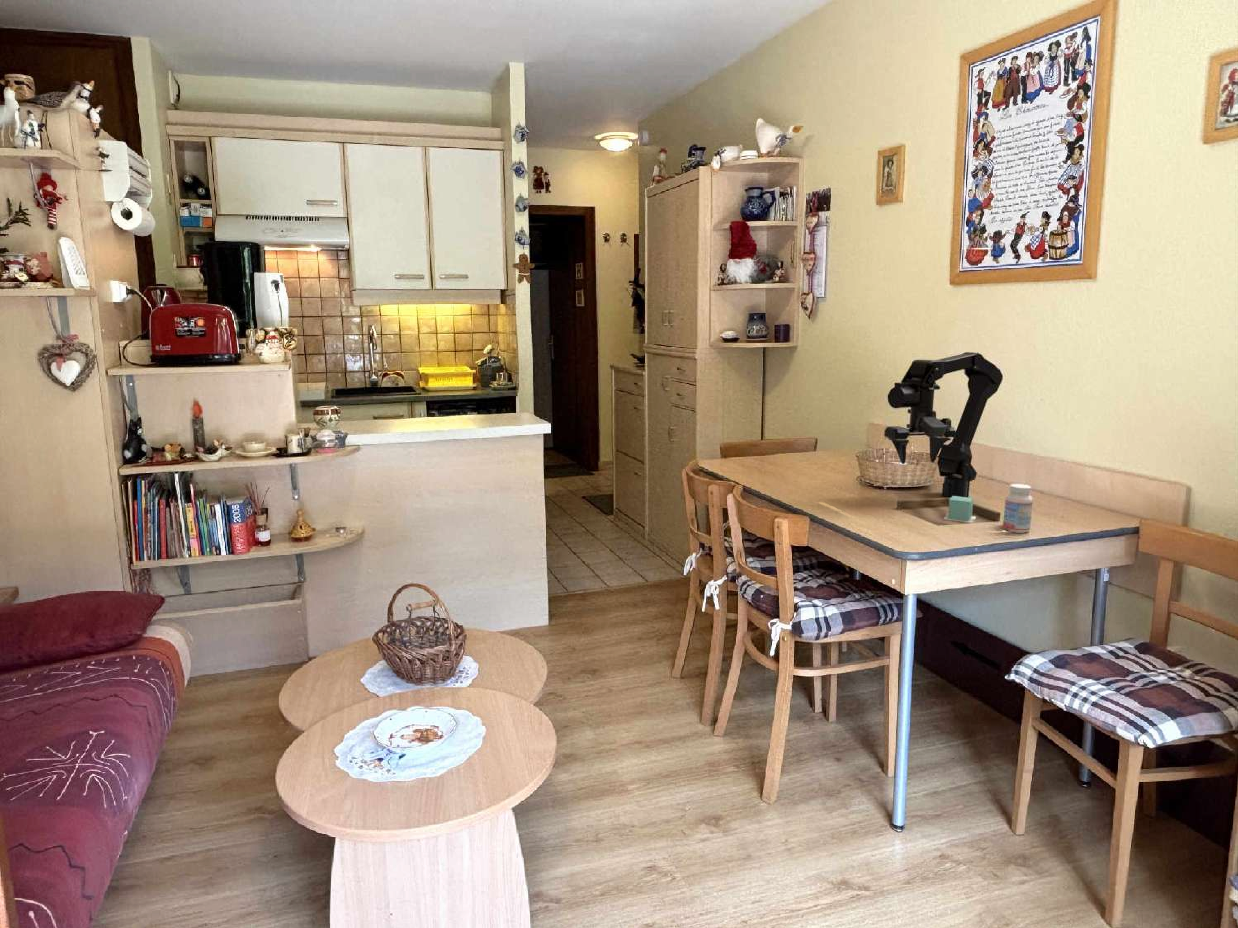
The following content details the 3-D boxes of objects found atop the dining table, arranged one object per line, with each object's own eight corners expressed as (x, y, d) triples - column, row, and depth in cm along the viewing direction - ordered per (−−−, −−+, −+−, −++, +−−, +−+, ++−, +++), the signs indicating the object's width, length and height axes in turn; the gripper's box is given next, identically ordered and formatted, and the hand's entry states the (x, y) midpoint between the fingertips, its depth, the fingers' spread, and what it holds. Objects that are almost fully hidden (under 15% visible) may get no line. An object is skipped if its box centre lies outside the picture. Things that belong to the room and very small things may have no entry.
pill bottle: (997, 527, 207) (1001, 483, 205) (1021, 526, 208) (1025, 483, 206) (1011, 533, 201) (1015, 488, 199) (1035, 533, 202) (1039, 488, 200)
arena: (954, 507, 227) (955, 497, 227) (999, 524, 210) (1000, 512, 210) (896, 511, 223) (897, 500, 222) (937, 528, 206) (938, 516, 205)
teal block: (951, 514, 216) (952, 495, 215) (971, 517, 214) (973, 498, 213) (947, 518, 212) (949, 499, 211) (968, 521, 209) (970, 501, 208)
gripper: (908, 411, 215) (904, 469, 218) (970, 409, 219) (966, 467, 222) (885, 406, 225) (881, 462, 228) (944, 404, 230) (940, 459, 233)
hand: (917, 463), depth 228 cm, fingers open, 9 cm apart
